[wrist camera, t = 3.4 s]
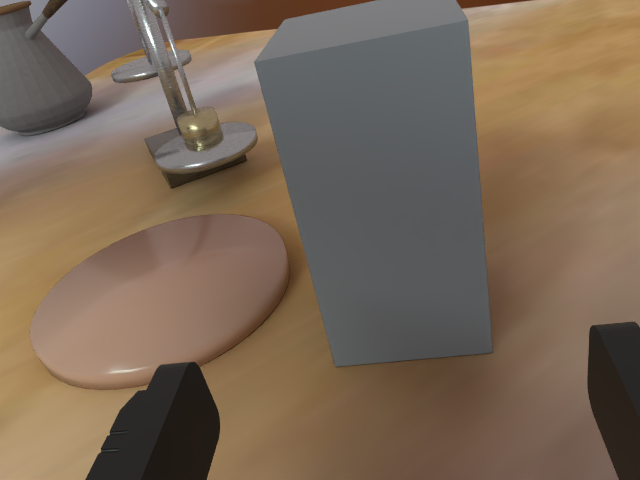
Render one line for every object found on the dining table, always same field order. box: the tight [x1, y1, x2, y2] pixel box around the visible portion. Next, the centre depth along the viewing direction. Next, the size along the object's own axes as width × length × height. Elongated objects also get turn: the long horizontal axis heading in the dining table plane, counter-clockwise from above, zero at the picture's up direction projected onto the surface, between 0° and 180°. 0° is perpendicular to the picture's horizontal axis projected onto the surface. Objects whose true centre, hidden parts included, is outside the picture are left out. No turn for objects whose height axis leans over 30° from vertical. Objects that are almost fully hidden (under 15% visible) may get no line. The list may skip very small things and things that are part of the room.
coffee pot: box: [0, 0, 92, 136], centre depth 61 cm, size 21×12×15 cm, turn 61°
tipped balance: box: [111, 0, 258, 188], centre depth 43 cm, size 23×7×16 cm, turn 25°
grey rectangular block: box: [254, 0, 493, 367], centre depth 21 cm, size 6×6×12 cm
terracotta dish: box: [30, 214, 290, 390], centre depth 29 cm, size 13×13×1 cm
